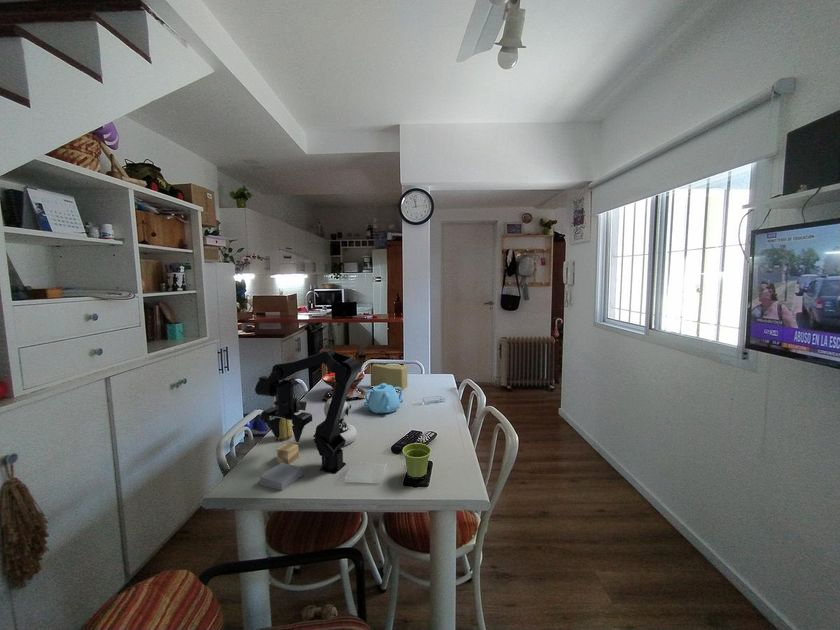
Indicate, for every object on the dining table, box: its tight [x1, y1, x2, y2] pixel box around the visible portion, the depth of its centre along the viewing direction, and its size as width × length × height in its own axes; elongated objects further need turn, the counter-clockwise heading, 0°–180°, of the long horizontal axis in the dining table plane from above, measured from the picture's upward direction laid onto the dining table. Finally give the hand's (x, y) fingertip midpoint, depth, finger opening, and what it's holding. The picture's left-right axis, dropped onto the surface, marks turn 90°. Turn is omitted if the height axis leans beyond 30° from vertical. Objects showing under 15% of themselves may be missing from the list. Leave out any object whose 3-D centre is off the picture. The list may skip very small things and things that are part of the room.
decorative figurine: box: [323, 398, 358, 447], centre depth 131 cm, size 15×15×20 cm
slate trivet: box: [259, 462, 304, 492], centre depth 106 cm, size 9×9×2 cm
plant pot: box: [402, 442, 432, 477], centre depth 107 cm, size 9×9×9 cm
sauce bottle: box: [274, 395, 293, 442], centre depth 133 cm, size 6×6×20 cm
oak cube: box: [276, 442, 300, 465], centre depth 118 cm, size 5×5×5 cm
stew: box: [320, 365, 370, 401], centre depth 184 cm, size 28×24×16 cm
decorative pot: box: [363, 383, 404, 414], centre depth 163 cm, size 16×16×14 cm
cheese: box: [370, 363, 408, 391], centre depth 195 cm, size 22×10×15 cm, turn 73°
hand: (287, 439), depth 117 cm, fingers open, 9 cm apart
